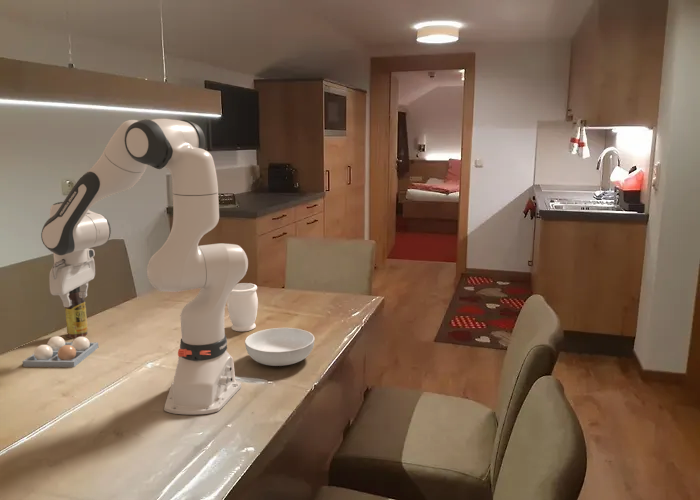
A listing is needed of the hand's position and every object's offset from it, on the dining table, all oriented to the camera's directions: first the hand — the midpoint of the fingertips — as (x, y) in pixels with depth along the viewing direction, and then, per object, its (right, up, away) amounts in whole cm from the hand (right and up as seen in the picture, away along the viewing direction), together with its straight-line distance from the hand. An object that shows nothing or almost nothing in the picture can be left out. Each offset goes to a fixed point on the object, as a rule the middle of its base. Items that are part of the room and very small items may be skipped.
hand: (75, 301), depth 168 cm
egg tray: (-7, -18, +5) cm, 20 cm away
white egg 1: (-10, -18, +2) cm, 21 cm away
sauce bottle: (-10, -14, +24) cm, 29 cm away
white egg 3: (-3, -16, +8) cm, 19 cm away
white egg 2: (-10, -16, +9) cm, 21 cm away
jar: (+44, -12, +32) cm, 55 cm away
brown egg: (-3, -18, +2) cm, 18 cm away
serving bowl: (+60, -18, +4) cm, 63 cm away
